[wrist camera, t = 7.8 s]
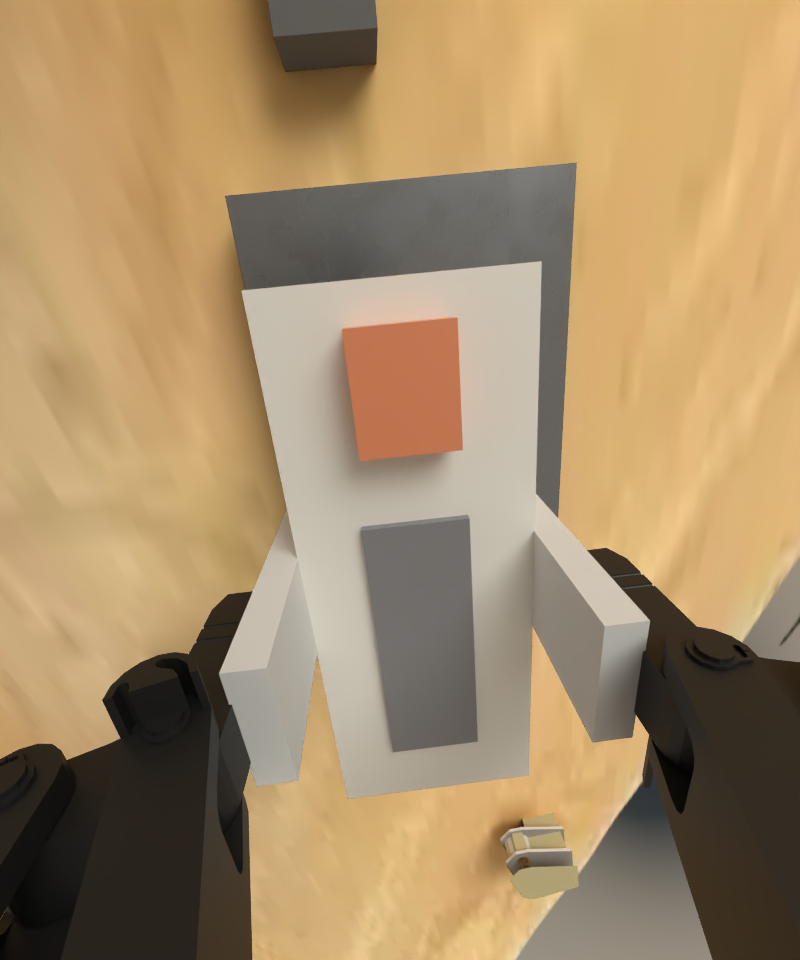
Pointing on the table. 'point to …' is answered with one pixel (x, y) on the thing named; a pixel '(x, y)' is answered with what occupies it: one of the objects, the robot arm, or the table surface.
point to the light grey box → (412, 510)
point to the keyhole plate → (428, 251)
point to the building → (539, 857)
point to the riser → (324, 33)
